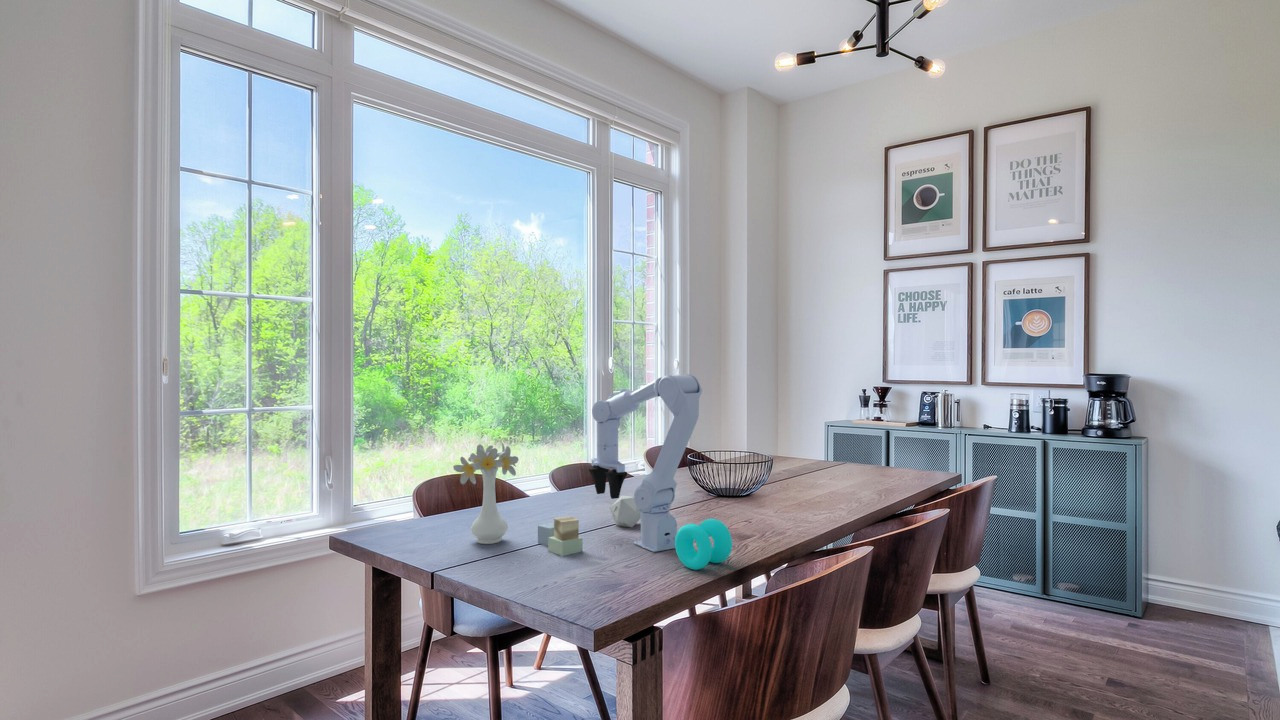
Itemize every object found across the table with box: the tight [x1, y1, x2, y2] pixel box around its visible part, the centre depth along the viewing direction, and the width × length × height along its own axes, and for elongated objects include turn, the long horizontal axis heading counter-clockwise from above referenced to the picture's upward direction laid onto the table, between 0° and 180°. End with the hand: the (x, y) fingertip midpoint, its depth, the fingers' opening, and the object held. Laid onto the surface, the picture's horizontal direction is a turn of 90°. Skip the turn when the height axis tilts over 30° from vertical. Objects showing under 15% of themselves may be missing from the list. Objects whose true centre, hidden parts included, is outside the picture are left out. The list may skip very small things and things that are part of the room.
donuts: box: [674, 518, 733, 571], centre depth 151 cm, size 10×10×10 cm
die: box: [609, 495, 641, 528], centre depth 189 cm, size 8×9×10 cm
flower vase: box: [452, 442, 519, 545], centre depth 172 cm, size 13×18×25 cm
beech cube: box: [553, 515, 580, 541], centre depth 164 cm, size 4×4×4 cm
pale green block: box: [547, 536, 583, 557], centre depth 163 cm, size 6×6×4 cm
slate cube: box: [537, 522, 554, 547], centre depth 171 cm, size 4×4×4 cm
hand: (607, 495), depth 179 cm, fingers open, 7 cm apart
